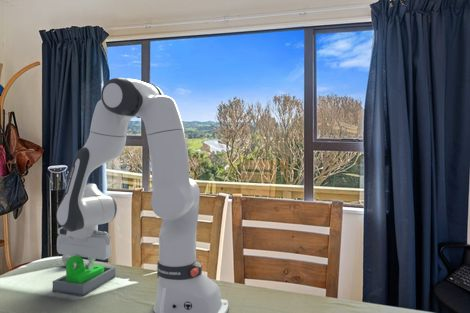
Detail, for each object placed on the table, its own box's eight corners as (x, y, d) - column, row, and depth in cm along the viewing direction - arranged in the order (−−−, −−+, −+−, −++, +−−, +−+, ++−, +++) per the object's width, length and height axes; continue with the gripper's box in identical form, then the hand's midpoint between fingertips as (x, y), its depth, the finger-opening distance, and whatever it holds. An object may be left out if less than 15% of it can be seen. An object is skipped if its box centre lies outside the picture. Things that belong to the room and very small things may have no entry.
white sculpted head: (82, 263, 140) (82, 246, 140) (71, 269, 134) (71, 251, 133) (69, 262, 141) (69, 245, 141) (57, 268, 135) (57, 250, 134)
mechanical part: (79, 284, 112) (77, 260, 112) (67, 282, 115) (64, 258, 115) (107, 271, 123) (105, 249, 123) (96, 270, 126) (94, 248, 126)
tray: (115, 276, 126) (115, 267, 126) (83, 296, 110) (82, 285, 110) (88, 273, 130) (87, 264, 130) (52, 291, 114) (52, 281, 113)
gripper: (115, 230, 119) (115, 269, 120) (66, 224, 125) (66, 262, 126) (104, 234, 113) (103, 275, 114) (53, 229, 119) (53, 268, 120)
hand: (84, 268), depth 120 cm, fingers closed on mechanical part, 3 cm apart
